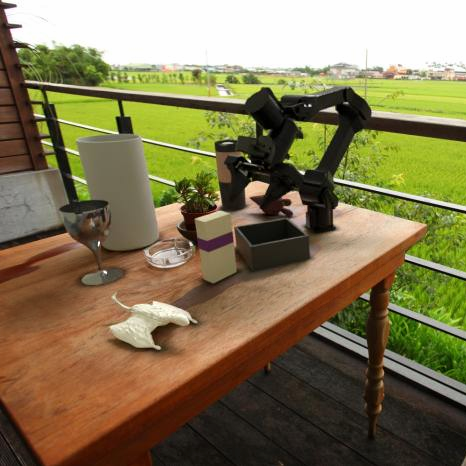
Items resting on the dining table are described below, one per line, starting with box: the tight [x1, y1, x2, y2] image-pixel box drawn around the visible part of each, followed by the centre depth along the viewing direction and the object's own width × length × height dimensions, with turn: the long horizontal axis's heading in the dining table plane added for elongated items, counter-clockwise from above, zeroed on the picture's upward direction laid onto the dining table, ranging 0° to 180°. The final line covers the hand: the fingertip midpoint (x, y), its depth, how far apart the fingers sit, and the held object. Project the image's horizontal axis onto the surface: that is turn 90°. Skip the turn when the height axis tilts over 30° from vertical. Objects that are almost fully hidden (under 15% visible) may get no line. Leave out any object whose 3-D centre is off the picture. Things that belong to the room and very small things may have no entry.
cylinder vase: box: [75, 133, 160, 252], centre depth 90 cm, size 12×12×25 cm
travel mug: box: [213, 139, 247, 211], centre depth 118 cm, size 8×8×20 cm
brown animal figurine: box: [249, 194, 294, 217], centre depth 114 cm, size 7×7×15 cm
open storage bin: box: [233, 217, 311, 271], centre depth 89 cm, size 13×13×6 cm
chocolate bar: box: [194, 210, 238, 284], centre depth 77 cm, size 3×6×13 cm, turn 146°
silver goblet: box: [58, 199, 123, 286], centre depth 76 cm, size 8×8×15 cm
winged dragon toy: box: [109, 291, 198, 351], centre depth 63 cm, size 18×10×4 cm, turn 66°
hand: (245, 205), depth 81 cm, fingers open, 9 cm apart
